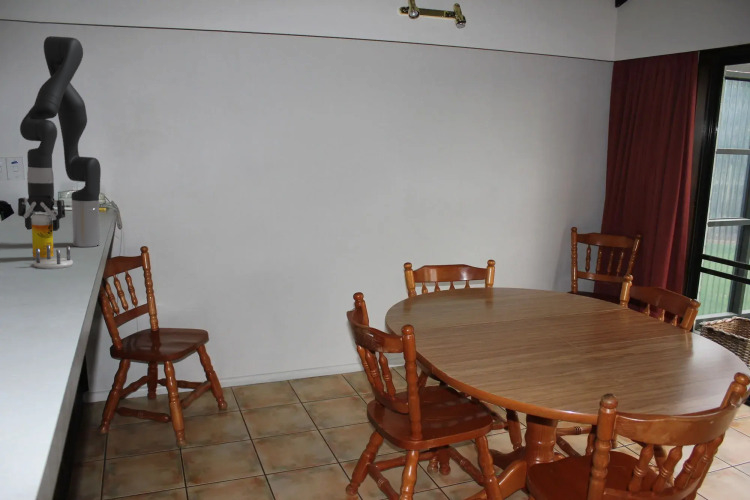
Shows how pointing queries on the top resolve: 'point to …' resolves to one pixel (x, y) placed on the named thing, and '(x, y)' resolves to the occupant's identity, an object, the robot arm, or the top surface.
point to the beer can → (42, 234)
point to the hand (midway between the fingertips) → (42, 230)
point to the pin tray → (53, 260)
